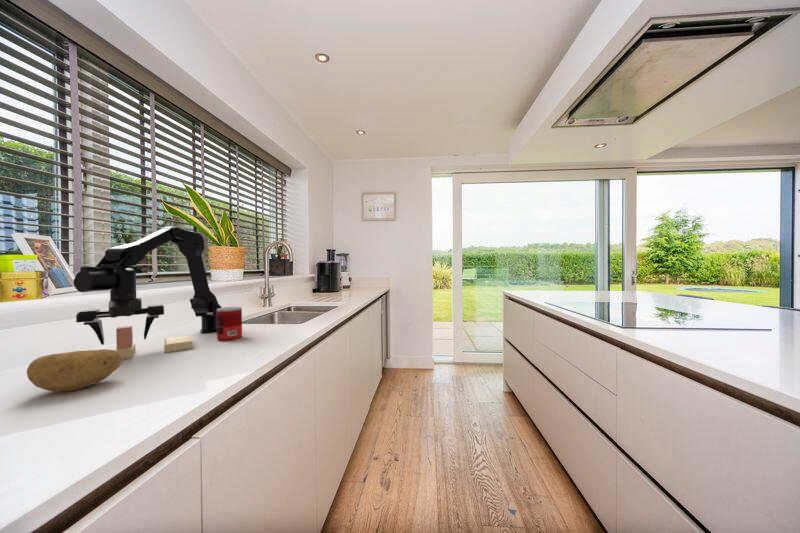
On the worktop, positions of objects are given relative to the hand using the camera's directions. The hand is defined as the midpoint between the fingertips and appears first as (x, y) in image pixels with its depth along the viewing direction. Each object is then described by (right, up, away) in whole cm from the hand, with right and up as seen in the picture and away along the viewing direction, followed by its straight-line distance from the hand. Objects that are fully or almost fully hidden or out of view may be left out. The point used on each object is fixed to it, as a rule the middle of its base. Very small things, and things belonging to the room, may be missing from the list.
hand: (124, 341), depth 89 cm
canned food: (+21, -4, +19) cm, 28 cm away
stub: (0, -4, 0) cm, 4 cm away
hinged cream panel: (+10, -4, +8) cm, 13 cm away
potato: (+13, -4, -25) cm, 28 cm away
